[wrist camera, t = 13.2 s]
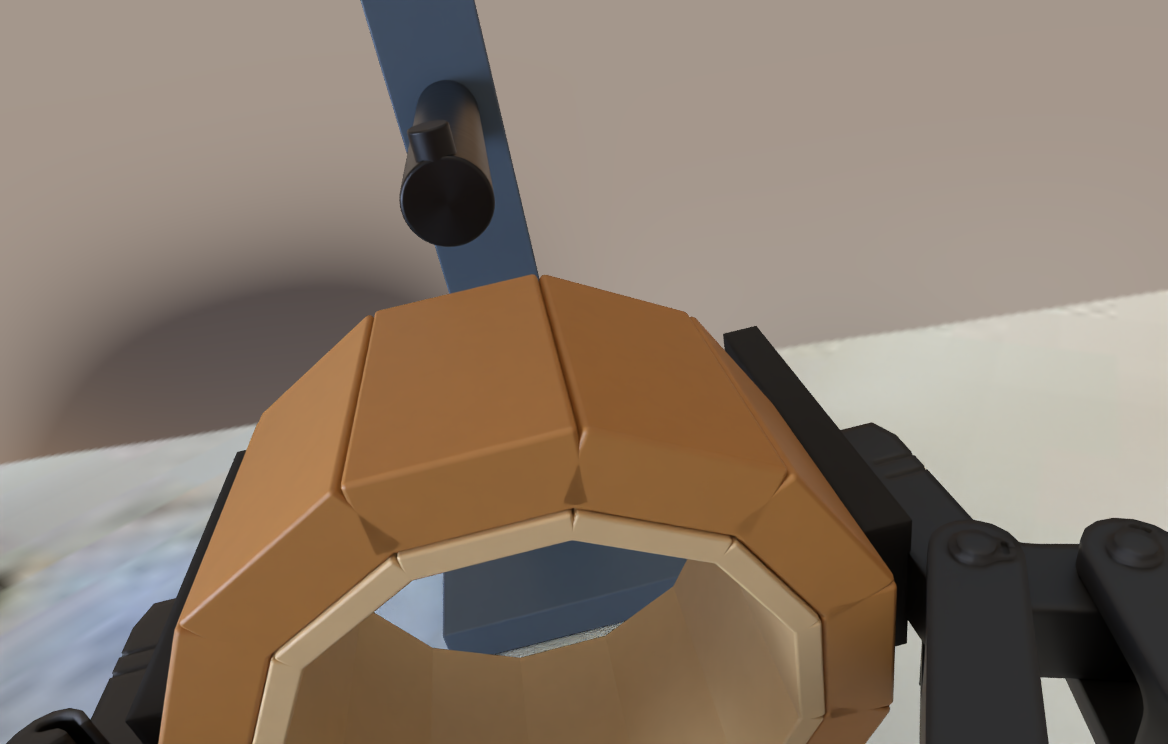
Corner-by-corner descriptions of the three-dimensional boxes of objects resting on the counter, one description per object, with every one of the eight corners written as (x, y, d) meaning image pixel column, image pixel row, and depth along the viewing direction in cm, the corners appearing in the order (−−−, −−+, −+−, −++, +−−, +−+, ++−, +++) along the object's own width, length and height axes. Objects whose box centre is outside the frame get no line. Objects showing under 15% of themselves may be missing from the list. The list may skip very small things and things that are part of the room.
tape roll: (328, 994, 13) (-19, 577, 8) (356, 747, 17) (139, 364, 12) (892, 840, 13) (911, 348, 8) (790, 634, 17) (760, 216, 12)
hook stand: (646, 453, 35) (553, -74, 24) (741, 699, 23) (647, -87, 13) (452, 501, 34) (269, -13, 23) (455, 773, 23) (107, 29, 12)
